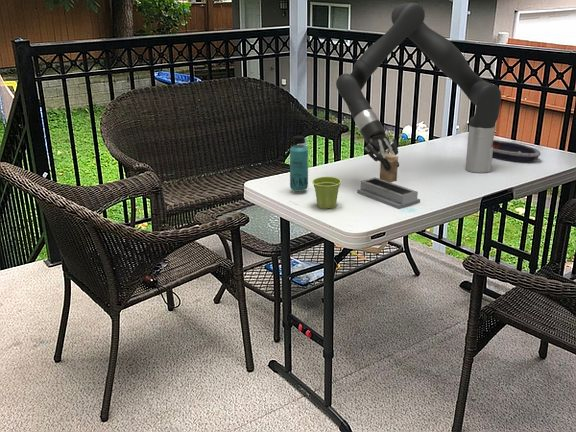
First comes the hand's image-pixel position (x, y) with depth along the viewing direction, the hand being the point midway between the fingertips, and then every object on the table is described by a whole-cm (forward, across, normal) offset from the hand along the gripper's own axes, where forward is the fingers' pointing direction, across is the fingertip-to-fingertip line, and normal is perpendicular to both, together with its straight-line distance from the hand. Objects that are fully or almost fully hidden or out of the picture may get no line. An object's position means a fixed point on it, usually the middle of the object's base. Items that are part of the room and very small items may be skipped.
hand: (393, 168), depth 198 cm
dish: (+2, +74, +14) cm, 75 cm away
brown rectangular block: (+2, 0, +5) cm, 5 cm away
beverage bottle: (-10, -20, +26) cm, 34 cm away
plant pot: (+2, -21, +14) cm, 26 cm away
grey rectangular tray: (+6, 0, +9) cm, 11 cm away
